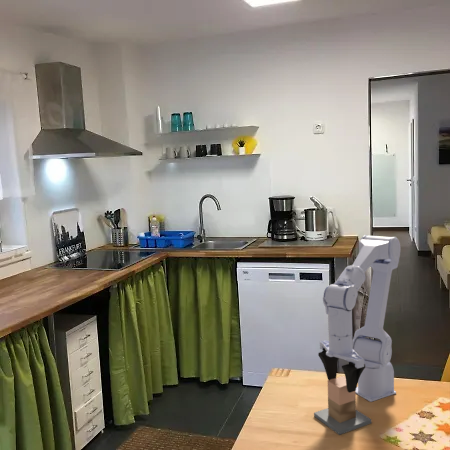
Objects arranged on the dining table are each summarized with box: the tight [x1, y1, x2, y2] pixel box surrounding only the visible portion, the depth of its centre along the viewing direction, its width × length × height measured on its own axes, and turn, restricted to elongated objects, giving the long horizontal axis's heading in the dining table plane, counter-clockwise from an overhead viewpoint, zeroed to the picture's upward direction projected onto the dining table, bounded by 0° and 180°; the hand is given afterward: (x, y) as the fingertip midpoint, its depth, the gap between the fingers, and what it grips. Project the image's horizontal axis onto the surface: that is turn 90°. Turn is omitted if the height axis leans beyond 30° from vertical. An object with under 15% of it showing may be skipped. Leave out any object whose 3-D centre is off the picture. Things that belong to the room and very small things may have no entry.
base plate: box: [313, 407, 372, 436], centre depth 125 cm, size 10×10×1 cm
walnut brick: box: [327, 397, 357, 423], centre depth 125 cm, size 5×4×5 cm
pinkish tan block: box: [327, 375, 357, 405], centre depth 124 cm, size 5×4×5 cm
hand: (341, 384), depth 124 cm, fingers open, 7 cm apart
